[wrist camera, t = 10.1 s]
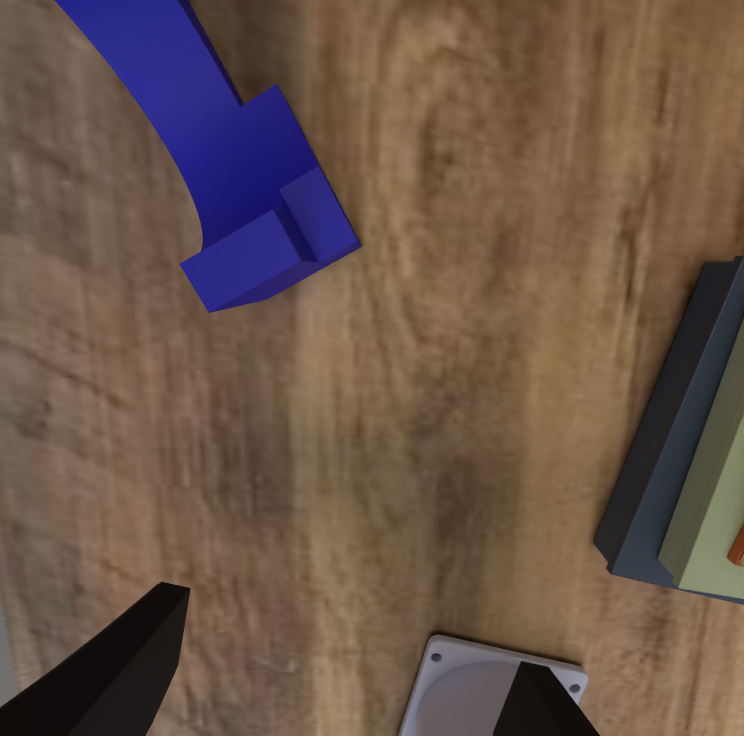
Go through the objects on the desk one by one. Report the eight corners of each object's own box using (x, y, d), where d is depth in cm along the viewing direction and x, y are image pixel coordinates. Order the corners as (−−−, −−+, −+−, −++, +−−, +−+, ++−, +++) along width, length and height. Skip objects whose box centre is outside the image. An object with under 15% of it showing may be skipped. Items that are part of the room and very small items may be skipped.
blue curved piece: (362, 246, 17) (349, 233, 11) (267, 299, 18) (208, 312, 12) (200, -66, 15) (82, -281, 9) (98, 6, 16) (-73, -153, 10)
